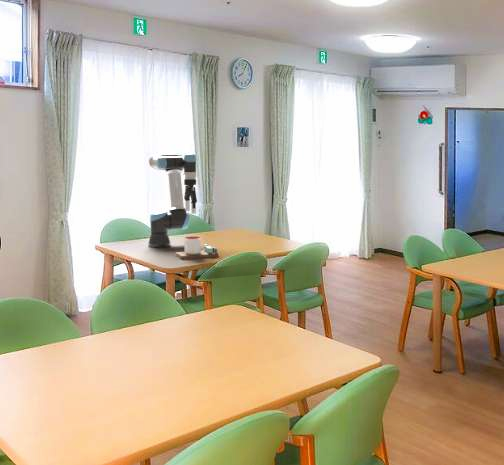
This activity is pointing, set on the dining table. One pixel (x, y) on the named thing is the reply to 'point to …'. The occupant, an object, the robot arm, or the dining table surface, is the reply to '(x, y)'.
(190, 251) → the cup
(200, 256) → the brown tray
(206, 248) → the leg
